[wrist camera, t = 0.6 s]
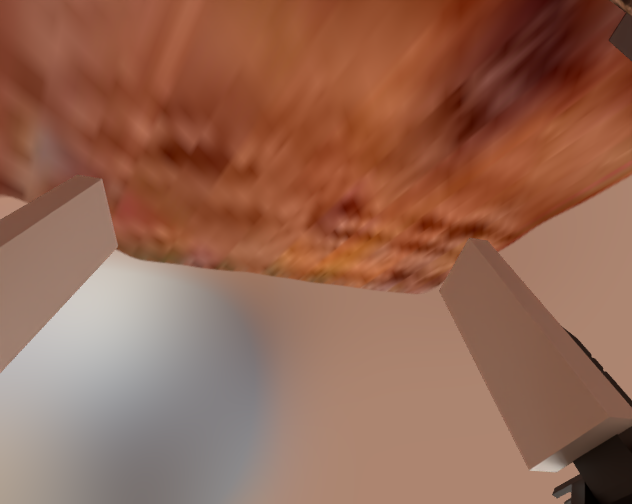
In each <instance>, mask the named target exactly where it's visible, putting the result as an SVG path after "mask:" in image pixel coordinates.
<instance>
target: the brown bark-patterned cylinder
mask: <svg viewBox="0 0 632 504" xmlns="http://www.w3.org/2000/svg"><path fill="white" fill-rule="evenodd" d="M610 1H611V2H613V3H614V4H615V5H617V6H618V7H619V8H621V9H622V10H623V11H625V12H626V13H627V14H629V15H630V16H631V17H632V0H610Z"/></svg>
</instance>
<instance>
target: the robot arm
mask: <svg viewBox="0 0 632 504" xmlns="http://www.w3.org/2000/svg"><path fill="white" fill-rule="evenodd" d="M117 247H118V244H117V240H116V236H115V232H114V227H113V223H112V219H111V215H110V211H109V206H108V202H107V198H106V194H105V189H104V185H103V181H102V179H100V178H93V177H87V176H81V175H76V176H74V177H73V178H71V179H69V180H68V181H66V182H64V183H62V184H61V185H59V186H57V187H56V188H54V189H52V190H50V191H49V192H47V193H45V194H44V195H42V196H40V197H38V198H37V199H35V200H33V201H32V202H30V203H28V204H27V205H25V206H23V207H21V208H20V209H18V210H16V211H14V212H13V213H11V214H10V215H8V216H6V217H4V218H2V219H1V220H0V373H1V372H2V371H3V370H4V369H5V367H6V366H7V365H8V364H9V363H10V362H11V361H12V360H13V359H14V358H15V357H16V355H18V353H19V352H20V351H21V350H22V349H23V348H24V347H25V346H26V345H27V344H28V343H29V342H30V341H31V339H32V338H33V337H34V336H35V335H36V334H37V333H38V332H39V331H40V330H41V329H42V327H44V326H45V324H46V323H47V322H48V321H49V320H50V319H51V318H52V317H53V316H54V315H55V314H56V313H57V312H58V311H59V309H60V308H61V307H62V306H63V305H64V304H65V303H66V302H67V301H68V300H69V299H70V298H71V297H72V295H73V294H74V293H75V292H76V291H77V290H78V289H79V288H80V287H81V286H82V285H83V283H85V282H86V280H87V279H88V278H89V277H90V276H91V275H92V274H93V273H94V272H95V271H96V270H97V269H98V268H99V266H100V265H101V264H102V263H103V262H104V261H105V260H106V259H107V258H108V257H109V256H110V255H111V254H112V252H113V251H114V250H115V249H116V248H117ZM439 291H440V293H441V295H442V297H443V299H444V301H445V303H446V305H447V307H448V309H449V311H450V313H451V315H452V317H453V319H454V321H455V323H456V325H457V327H458V329H459V331H460V333H461V335H462V337H463V339H464V341H465V343H466V345H467V347H468V349H469V351H470V353H471V355H472V357H473V359H474V361H475V363H476V365H477V367H478V369H479V371H480V373H481V375H482V377H483V379H484V381H485V383H486V385H487V387H488V389H489V391H490V393H491V395H492V397H493V399H494V401H495V403H496V405H497V407H498V409H499V411H500V413H501V415H502V417H503V419H504V421H505V423H506V425H507V427H508V429H509V431H510V433H511V435H512V437H513V439H514V441H515V443H516V445H517V447H518V449H519V451H520V453H521V455H522V457H523V459H524V461H525V463H526V465H527V467H528V469H529V470H531V471H546V472H557V471H559V470H560V469H562V468H564V467H565V466H567V465H569V464H570V463H572V462H573V463H574V464H575V466H576V468H577V469H578V471H579V472H580V474H579V475H577V476H575V477H574V478H572V479H570V480H568V481H567V482H565V483H563V484H561V485H560V486H558V487H556V488H555V489H554V492H553V494H552V495H553V496H555V497H556V498H559V497H560V496H562V495H564V494H566V493H568V492H571V493H572V494H571V498H570V499H568V500H567V501H565V503H564V504H632V400H631V399H630V398H629V397H628V396H627V395H626V394H625V392H624V391H623V390H622V389H621V388H620V387H619V385H617V383H616V382H615V381H614V380H613V379H612V377H611V376H610V375H609V374H608V373H607V372H604V371H603V367H602V366H601V365H600V364H599V363H598V361H597V360H596V359H594V358H592V357H591V354H590V352H589V351H588V350H587V349H586V348H585V347H584V346H583V344H581V342H580V341H579V340H578V339H577V338H576V337H574V336H573V335H572V334H571V333H570V332H568V331H567V330H566V329H564V328H563V327H562V326H561V325H560V324H559V323H558V322H557V321H556V319H555V318H554V317H553V316H552V315H551V314H550V312H549V311H548V310H547V309H546V308H545V307H544V305H543V304H542V303H541V302H540V301H539V300H538V298H537V297H536V296H535V295H534V294H533V293H532V292H531V290H530V289H529V288H528V287H527V286H526V285H525V283H524V282H523V281H522V280H521V279H520V278H519V277H518V275H517V274H516V273H515V272H514V271H513V270H512V268H511V267H510V266H509V265H508V264H507V263H506V261H505V260H504V259H503V258H502V257H501V256H500V254H499V253H498V252H497V251H496V250H495V249H494V248H493V246H492V245H491V244H490V243H489V242H488V241H486V240H480V239H474V238H469V239H468V241H467V243H466V244H465V246H464V248H463V250H462V251H461V253H460V255H459V257H458V258H457V260H456V262H455V264H454V265H453V267H452V269H451V271H450V272H449V274H448V276H447V278H446V279H445V281H444V283H443V285H442V287H441V288H440V290H439Z"/></svg>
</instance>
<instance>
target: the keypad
mask: <svg viewBox="0 0 632 504" xmlns="http://www.w3.org/2000/svg"><path fill="white" fill-rule="evenodd" d="M609 41H610V42H611V43H612V44H613V45H614V46H615V47H616V48H618V49H619V50H620V51H621V52H622V53H623V54H624V55H625V56H626V57H628V58H629V59H630V60H631V61H632V17H631V16H630V15H629V14H627V13H626V15H625V16H624V18H623V19H622V21H621V22H620V24H619V26H618V27H617V29H616V30H615V32H614V33H613V35H612V36H611V38H610V40H609Z"/></svg>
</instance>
